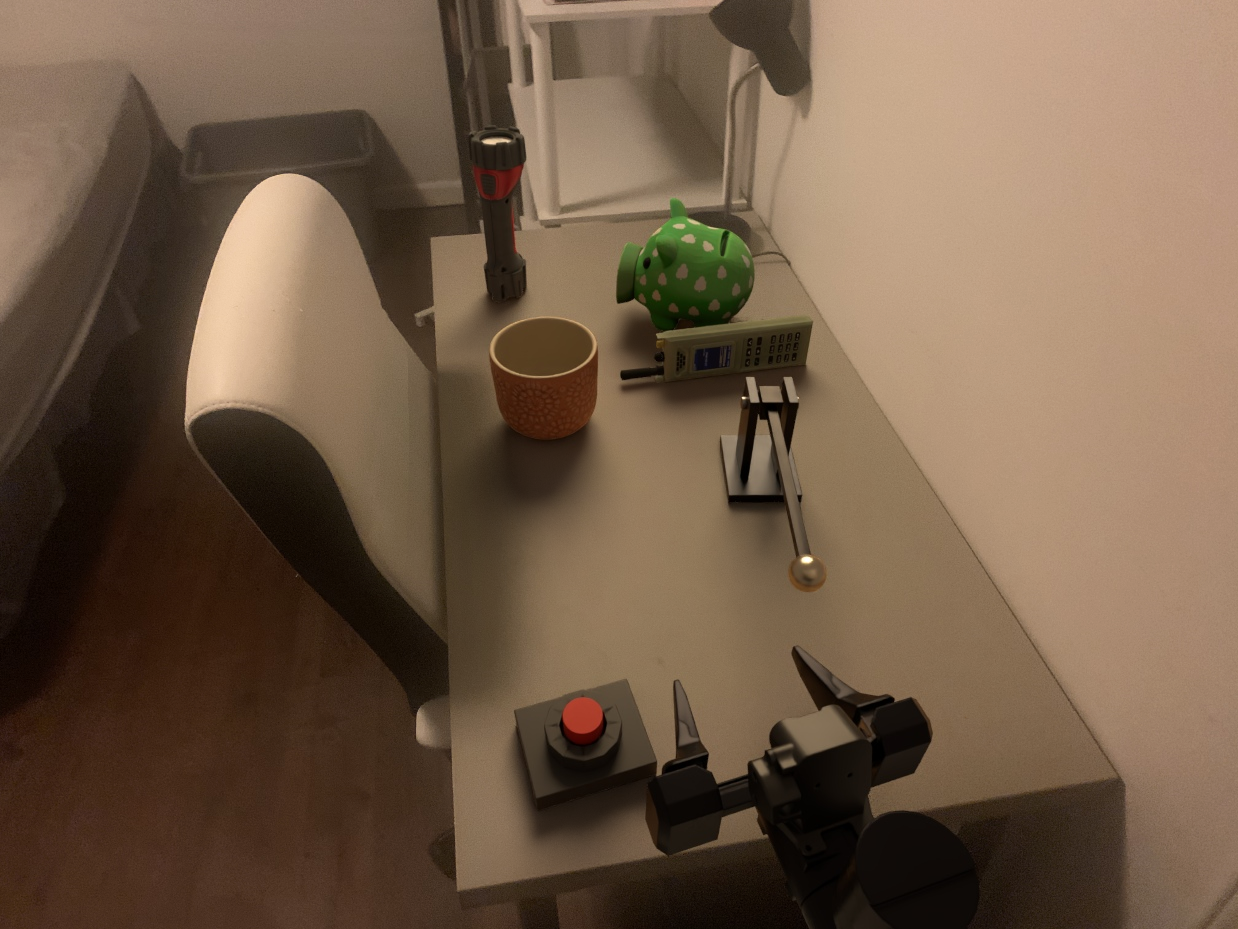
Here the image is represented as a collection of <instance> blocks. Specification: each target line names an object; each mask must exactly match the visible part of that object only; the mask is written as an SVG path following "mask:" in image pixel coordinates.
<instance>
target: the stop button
mask: <svg viewBox="0 0 1238 929" xmlns="http://www.w3.org/2000/svg"><path fill="white" fill-rule="evenodd" d="M562 717H563V728H564V733H565V735H566V737H567V738H568V739H569V740H570V741H572V742H573V743H576V744H580V745H585V744H590V743H592V742H594V741H595V740H597V739H598V738H599V736H600V735H601V733H602V730H603V712H602V709H601V707H600V705H599V704H598V703H597V702H596V701H594V700H592V699H590V698H585V697H582V698H577V699H574V700H572V701H571V702H569V703H568V704H567V705H566V707H565V708H564V711H563V716H562Z"/></svg>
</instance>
